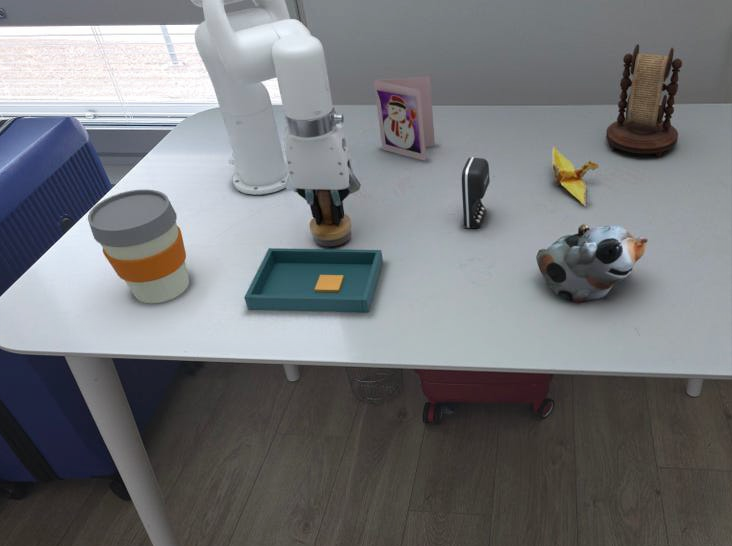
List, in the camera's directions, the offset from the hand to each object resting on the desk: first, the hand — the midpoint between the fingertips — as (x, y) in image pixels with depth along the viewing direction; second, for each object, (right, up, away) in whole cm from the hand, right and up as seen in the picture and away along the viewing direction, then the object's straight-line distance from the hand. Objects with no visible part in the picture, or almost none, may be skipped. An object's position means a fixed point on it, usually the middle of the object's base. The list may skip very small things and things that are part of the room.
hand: (329, 220), depth 121 cm
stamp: (0, -2, +2) cm, 3 cm away
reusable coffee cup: (-27, -12, -5) cm, 30 cm away
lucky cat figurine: (+44, -12, -8) cm, 46 cm away
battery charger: (+26, +1, +7) cm, 27 cm away
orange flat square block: (+1, -12, -7) cm, 14 cm away
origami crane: (+44, +10, +15) cm, 48 cm away
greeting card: (+12, +21, +28) cm, 37 cm away
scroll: (+61, +21, +26) cm, 70 cm away
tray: (0, -13, -7) cm, 14 cm away
